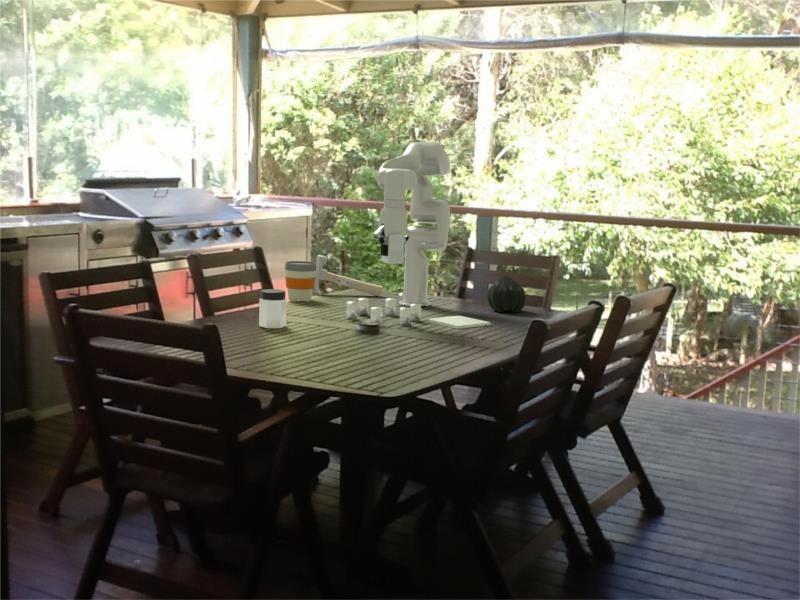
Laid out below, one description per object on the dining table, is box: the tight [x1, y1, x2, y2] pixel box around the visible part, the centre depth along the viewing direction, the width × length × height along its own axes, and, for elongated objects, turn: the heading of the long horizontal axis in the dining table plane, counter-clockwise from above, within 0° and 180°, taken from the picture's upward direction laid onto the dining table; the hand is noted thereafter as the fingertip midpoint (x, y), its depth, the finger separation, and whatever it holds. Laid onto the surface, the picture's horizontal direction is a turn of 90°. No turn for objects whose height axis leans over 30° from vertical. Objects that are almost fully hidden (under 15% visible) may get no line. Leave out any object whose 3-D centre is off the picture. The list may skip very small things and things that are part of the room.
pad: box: [426, 315, 491, 330], centre depth 323 cm, size 16×16×1 cm
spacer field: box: [345, 297, 422, 327], centre depth 324 cm, size 28×22×6 cm
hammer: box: [313, 254, 384, 298], centre depth 381 cm, size 16×5×30 cm
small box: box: [380, 234, 405, 265], centre depth 320 cm, size 8×6×10 cm
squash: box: [486, 274, 527, 313], centre depth 356 cm, size 14×15×15 cm
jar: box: [258, 288, 287, 329], centre depth 302 cm, size 9×8×12 cm
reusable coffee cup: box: [284, 260, 317, 302], centre depth 361 cm, size 13×13×15 cm
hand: (392, 254), depth 321 cm, fingers closed on small box, 6 cm apart
